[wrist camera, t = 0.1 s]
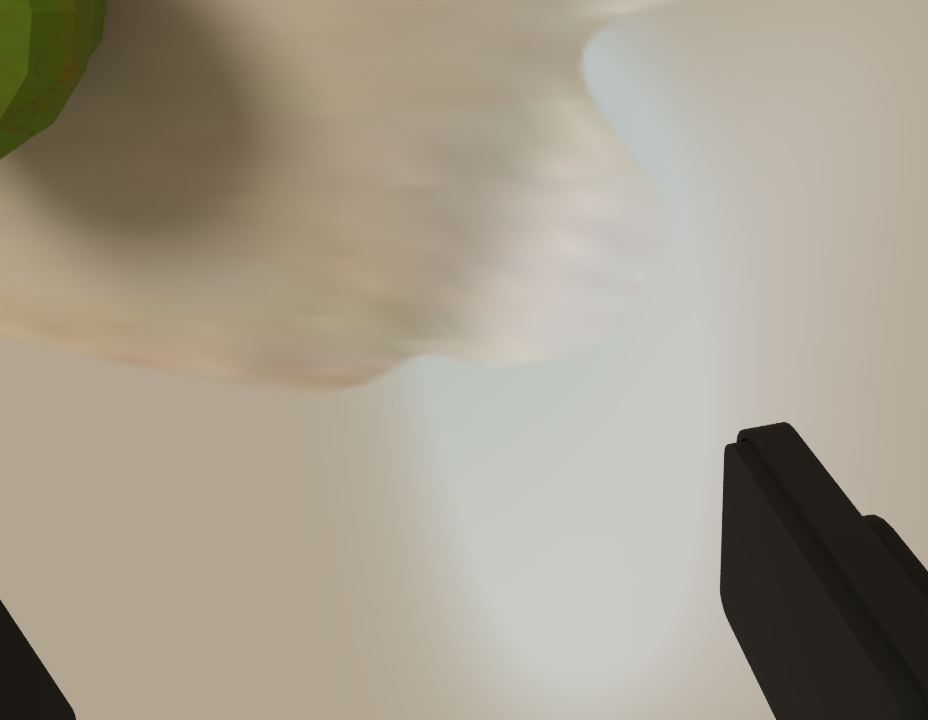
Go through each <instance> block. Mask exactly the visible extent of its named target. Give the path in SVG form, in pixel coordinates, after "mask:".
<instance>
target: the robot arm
mask: <svg viewBox="0 0 928 720" xmlns="http://www.w3.org/2000/svg"><path fill="white" fill-rule="evenodd" d="M722 512H723V513H722V544H721V575H720V595H721V601H722V604H723V609H724V612H725V615H726V617H727V619H728V622H729V623H730V625H731V628H732V630H733V632H734V634H735V636H736V638H737V640H738V642H739V644H740V646H741V648H742V650H743V652H744V654H745V657H746V659H747V660H748V663H749V665H750V666H751V669H752V671H753V673H754V675H755V677H756V679H757V681H758V683H759V685H760V687H761V689H762V691H763V693H764V696H765V697H766V700H767V702H768V704H769V706H770V708H771V710H772V712H773V714H774V716H775V718H776V720H928V571H927V570H926V569H925V567H924V566H923V565H922V564H921V562H920V561H919V560H918V559H917V557H916V556H915V555H914V554H913V552H912V551H911V550H910V549H909V548H908V546H907V545H906V544H905V543H904V541H903V540H902V539H901V538H900V536H899V535H898V534H897V533H896V531H894V529H893V528H892V527H891V526H890V525H889V524H888V523H887V522H886V521H885V520H884V519H882V518H880V517H878V516H876V515H866V516H862V515H861V514H860V513H859V511H858V510H857V509H856V508H855V506H854V505H853V504H852V502H851V501H850V500H849V499H848V497H847V496H846V495H845V493H844V492H843V491H842V490H841V488H840V487H839V486H838V484H837V483H836V482H835V481H834V479H833V478H832V477H831V475H830V474H829V473H828V472H827V470H826V469H825V468H824V466H823V465H822V464H821V462H820V461H819V460H818V459H817V457H816V456H815V455H814V454H813V452H812V451H811V450H810V448H809V447H808V446H807V444H806V443H805V442H804V441H803V439H802V438H801V437H800V435H799V434H798V433H797V432H796V430H795V429H794V428H793V427H792V426H791V425H790V424H789V423H786V422H782V423H776V424H771V425H766V426H760V427H755V428H749V429H744V430H741V431H740V432H739V434H738V436H737V443H732V444H728V445H726V447H725V452H724V479H723V511H722ZM0 720H76V718H75V713H74V711H73V709H72V707H71V706H70V704H69V703H68V701H67V700H66V698H65V697H64V695H63V694H62V692H61V691H60V689H59V688H58V686H57V685H56V683H55V682H54V680H53V679H52V677H51V676H50V674H49V673H48V671H47V670H46V668H45V667H44V665H43V664H42V662H41V660H40V659H39V658H38V656H37V654H36V653H35V651H34V650H33V648H32V647H31V646H30V644H29V642H28V641H27V639H26V638H25V636H24V635H23V633H22V632H21V631H20V629H19V627H18V626H17V624H16V623H15V621H14V620H13V618H12V617H11V615H10V614H9V612H8V611H7V609H6V608H5V606H4V605H3V603H2V602H1V600H0Z"/></svg>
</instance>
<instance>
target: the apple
mask: <svg viewBox="0 0 928 720" xmlns="http://www.w3.org/2000/svg"><path fill="white" fill-rule="evenodd" d="M105 4H106V0H0V159H1V158H3V157H4V156H6V155H7V154H8V153H10V152H11V151H13V150H14V149H15V148H17V147H18V146H19V145H21V144H22V143H24V142H25V141H27V140H28V139H30V138H31V137H33V136H34V135H36V134H37V133H39V132H41V131H42V130H44V129H45V128H47V127H48V126H50V125H51V124H53V123H54V121H55V120H56V118H57V116H58V115H59V113H60V111H61V110H62V108H63V106H64V105H65V103H66V102H67V100H68V98H69V97H70V95H71V93H72V92H73V90H74V88H75V87H76V85H77V83H78V82H79V80H80V78H81V77H82V75H83V73H84V72H85V68H86V65H87V62H88V58H89V56H90V54H91V53H92V52H93V50H94V49H95V47H96V46H97V45H98V43H99V42H100V41H101V38H102V29H103V21H104V12H105Z"/></svg>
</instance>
